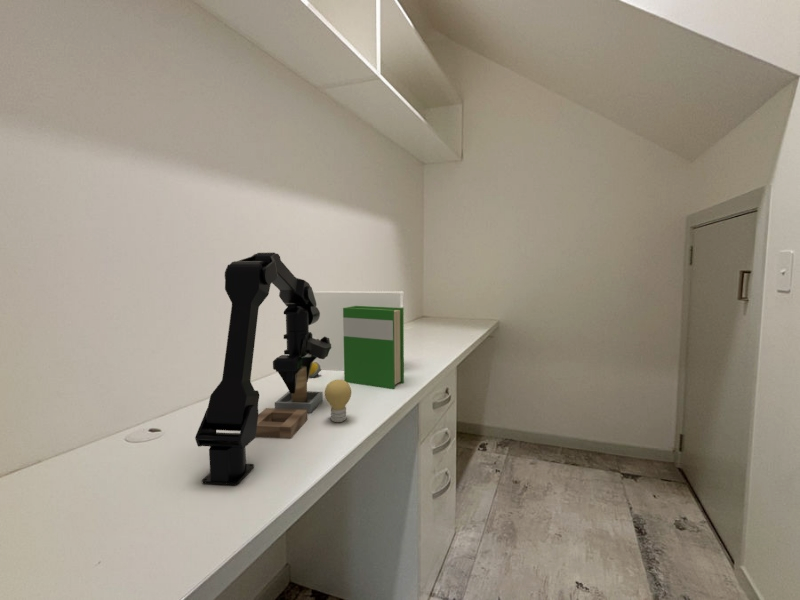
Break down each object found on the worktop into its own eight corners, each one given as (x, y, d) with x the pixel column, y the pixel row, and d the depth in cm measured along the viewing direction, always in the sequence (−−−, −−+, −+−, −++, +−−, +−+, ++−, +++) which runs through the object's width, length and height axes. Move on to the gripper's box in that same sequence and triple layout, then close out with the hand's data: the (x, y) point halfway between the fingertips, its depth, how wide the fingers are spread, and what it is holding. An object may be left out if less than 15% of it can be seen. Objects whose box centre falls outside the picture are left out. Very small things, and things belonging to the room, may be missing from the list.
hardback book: (403, 382, 126) (403, 307, 124) (393, 389, 120) (392, 310, 117) (356, 376, 134) (355, 305, 132) (344, 382, 127) (343, 308, 125)
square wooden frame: (290, 438, 86) (290, 427, 86) (245, 436, 87) (244, 425, 87) (307, 419, 97) (307, 409, 96) (266, 418, 98) (266, 408, 98)
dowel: (304, 407, 104) (303, 369, 103) (289, 406, 104) (288, 369, 103) (309, 402, 108) (308, 365, 107) (295, 401, 108) (294, 365, 107)
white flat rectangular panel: (305, 369, 143) (302, 292, 141) (313, 363, 151) (311, 290, 149) (400, 373, 137) (399, 292, 135) (404, 367, 145) (403, 291, 143)
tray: (311, 413, 101) (310, 403, 100) (275, 412, 102) (274, 402, 101) (322, 400, 110) (322, 391, 110) (289, 399, 111) (289, 390, 111)
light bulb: (350, 425, 93) (350, 383, 92) (323, 426, 93) (322, 384, 92) (352, 415, 99) (352, 376, 98) (327, 415, 99) (326, 376, 98)
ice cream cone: (324, 378, 134) (307, 362, 127) (311, 383, 135) (293, 368, 128) (325, 365, 138) (308, 349, 131) (312, 371, 139) (294, 356, 132)
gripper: (315, 336, 94) (317, 400, 95) (337, 324, 112) (338, 378, 114) (270, 336, 95) (273, 399, 97) (299, 324, 114) (300, 377, 115)
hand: (299, 387), depth 105 cm, fingers open, 9 cm apart
